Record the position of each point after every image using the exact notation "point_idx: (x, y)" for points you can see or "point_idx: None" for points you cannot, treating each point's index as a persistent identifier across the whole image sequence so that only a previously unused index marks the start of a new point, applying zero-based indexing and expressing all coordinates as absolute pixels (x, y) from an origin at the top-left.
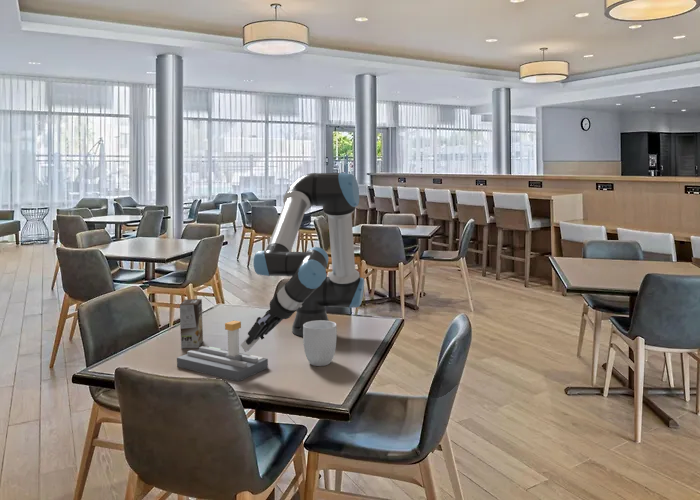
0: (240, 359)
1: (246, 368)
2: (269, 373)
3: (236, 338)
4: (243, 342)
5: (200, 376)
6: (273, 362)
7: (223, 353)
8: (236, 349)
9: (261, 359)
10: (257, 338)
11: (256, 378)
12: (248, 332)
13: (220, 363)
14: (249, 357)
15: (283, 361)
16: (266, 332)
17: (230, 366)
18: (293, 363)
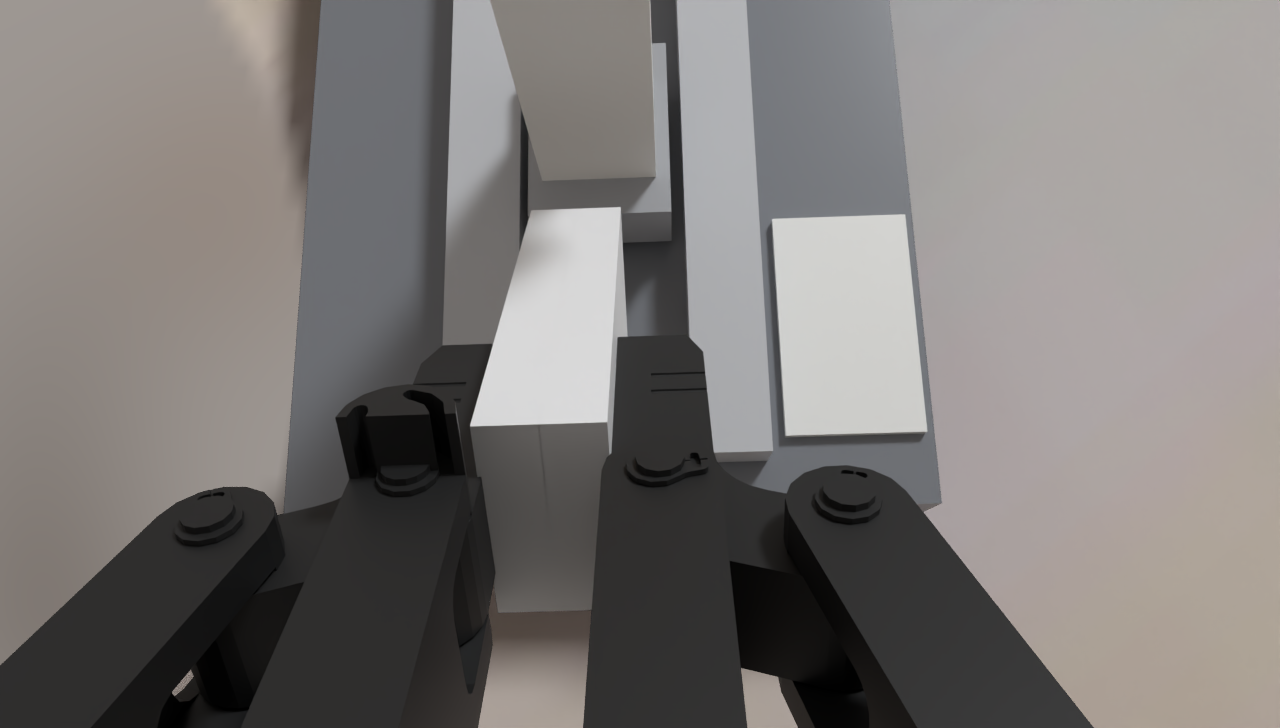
0: (639, 240)
1: None
2: (757, 683)
3: (580, 23)
4: (521, 256)
5: (264, 67)
6: (1111, 443)
7: None
8: (591, 133)
9: (861, 446)
10: (550, 591)
11: (523, 657)
12: (121, 556)
13: (434, 103)
14: (709, 336)
15: (1232, 533)
16: (797, 721)
17: (403, 285)
18: (1267, 714)
